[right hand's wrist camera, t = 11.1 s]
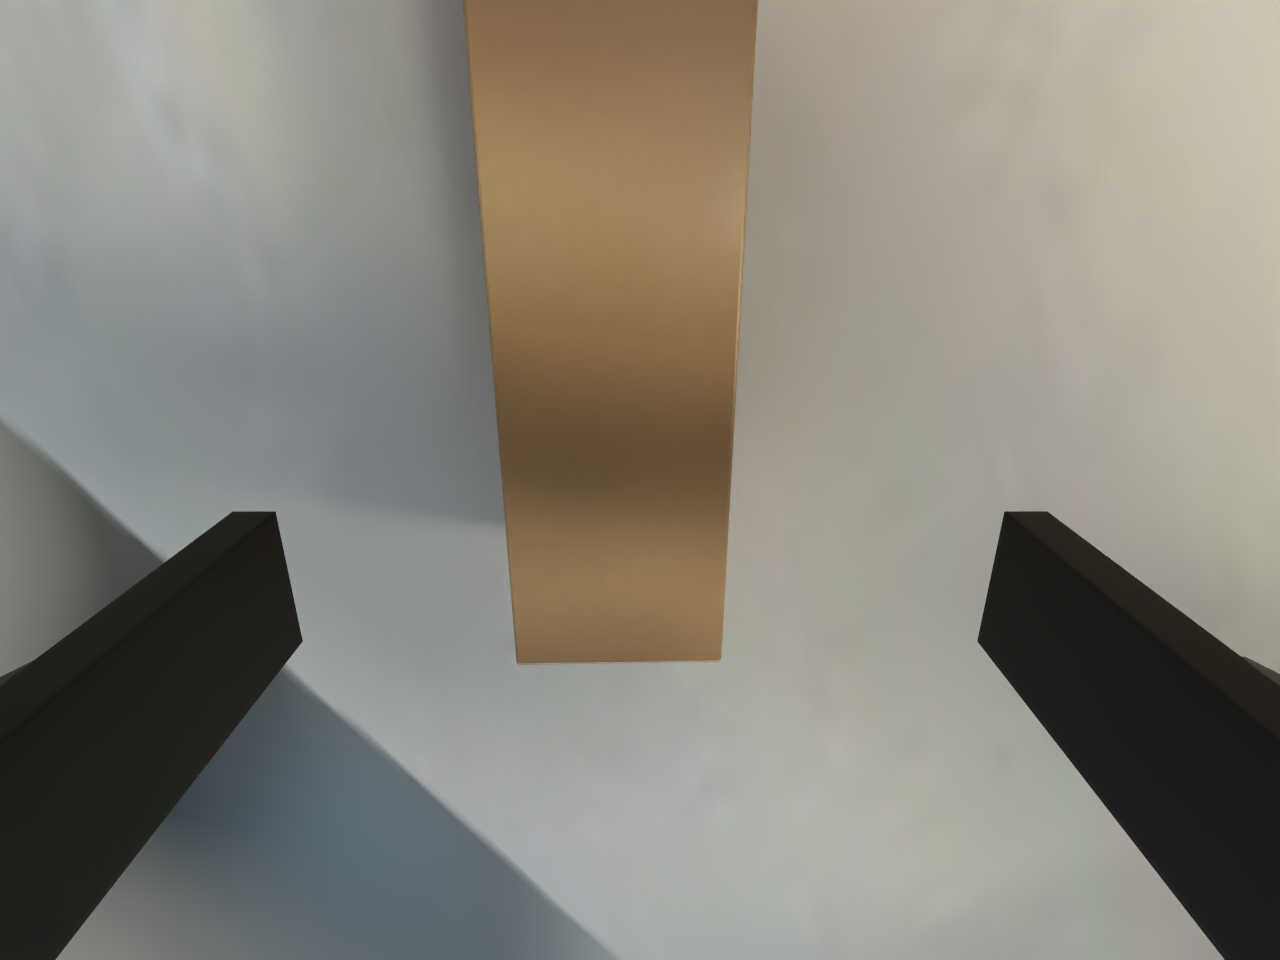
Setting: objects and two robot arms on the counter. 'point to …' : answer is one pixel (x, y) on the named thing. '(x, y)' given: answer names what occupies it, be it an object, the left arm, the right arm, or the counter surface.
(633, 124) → the post
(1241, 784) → the right robot arm
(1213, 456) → the counter surface
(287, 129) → the counter surface
